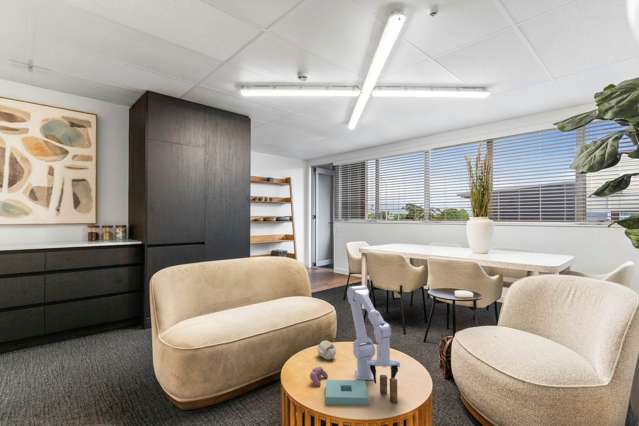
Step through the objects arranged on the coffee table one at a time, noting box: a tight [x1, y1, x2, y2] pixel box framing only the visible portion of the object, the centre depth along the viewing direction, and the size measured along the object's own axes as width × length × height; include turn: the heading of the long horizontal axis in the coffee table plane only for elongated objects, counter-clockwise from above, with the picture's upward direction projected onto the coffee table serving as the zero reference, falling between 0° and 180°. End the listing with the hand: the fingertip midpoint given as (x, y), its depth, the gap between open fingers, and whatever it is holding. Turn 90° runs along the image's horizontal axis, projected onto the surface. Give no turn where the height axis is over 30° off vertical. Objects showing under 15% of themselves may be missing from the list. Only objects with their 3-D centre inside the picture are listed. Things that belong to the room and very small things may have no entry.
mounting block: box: [325, 379, 370, 406], centre depth 132 cm, size 14×18×3 cm
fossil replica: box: [316, 340, 337, 361], centre depth 170 cm, size 12×8×10 cm
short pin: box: [379, 374, 388, 395], centre depth 134 cm, size 3×3×7 cm
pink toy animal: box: [309, 366, 329, 387], centre depth 144 cm, size 10×5×7 cm, turn 154°
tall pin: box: [389, 377, 399, 404], centre depth 127 cm, size 3×3×9 cm
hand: (383, 382), depth 134 cm, fingers open, 7 cm apart
